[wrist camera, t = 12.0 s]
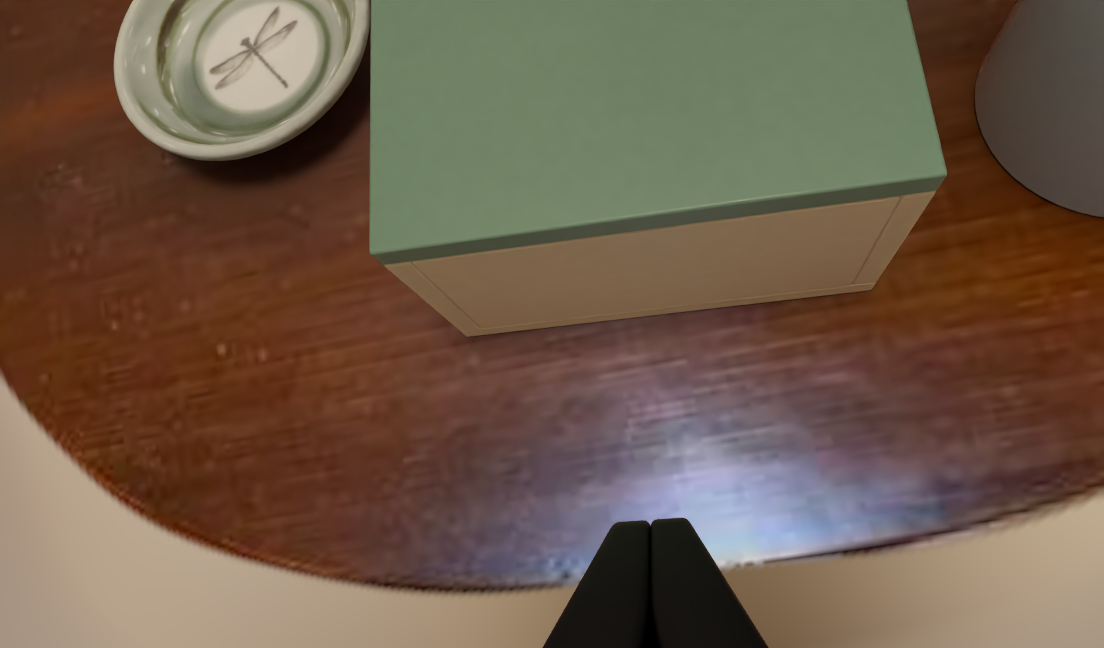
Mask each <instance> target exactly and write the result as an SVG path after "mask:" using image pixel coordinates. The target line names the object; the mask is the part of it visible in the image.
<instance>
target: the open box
mask: <svg viewBox="0 0 1104 648" xmlns="http://www.w3.org/2000/svg"><path fill="white" fill-rule="evenodd" d="M934 194H935V191H930V192H922V193H915V194H907V195H900V196H892V197H885V198H878V199H870V200H863V201H855V202H848V203H840V204H833V205H825V206H818V207H811V208H803V209H796V210H788V211H781V212H773V213H766V214H758V215H751V216H744V217H736V218H729V219H721V220H714V221H706V222H699V223H691V224H684V225H677V226H669V227H662V228H654V229H647V230H639V231H632V232H624V233H617V234H609V235H602V236H595V237H587V238H580V239H572V240H565V241H557V242H550V243H542V244H535V245H528V246H520V247H513V248H505V249H498V250H490V251H483V252H475V253H468V254H461V255H453V256H446V257H438V258H431V259H423V260H416V261H408V262H401V263H394V264H386V265H384V266H385V267H386V268H387V269H388V270H389V271H390V272H391V273H393V274H394V275H395V276H396V277H397V278H399V279H400V280H401V281H402V282H403V283H404V284H406V285H407V286H408V287H409V288H410V289H411V290H413V291H414V292H415V293H416V294H417V295H418V296H420V297H421V298H422V299H423V300H424V301H426V302H427V303H428V304H429V305H430V306H431V307H433V308H434V309H435V310H436V311H437V312H438V313H440V314H441V315H442V316H443V317H444V318H446V319H447V320H448V321H449V322H450V323H451V324H453V325H454V326H455V327H456V328H457V329H458V330H460V332H462V333H463V334H464V335H465V336H466V337H470V336H479V335H487V334H496V333H504V332H513V331H522V330H530V329H539V328H548V327H556V326H565V325H574V324H582V323H591V322H600V321H608V320H617V319H625V318H634V317H643V316H651V315H660V314H669V313H677V312H686V311H695V310H703V309H712V308H721V307H729V306H738V305H746V304H755V303H764V302H772V301H781V300H790V299H798V298H807V297H816V296H824V295H833V294H842V293H850V292H859V291H867V290H872V289H873V287H874V286H875V284H876V282H877V280H878V279H879V277H880V276H881V274H882V273H883V271H884V270H885V268H886V267H887V265H888V264H889V262H890V261H891V259H892V258H893V256H894V255H895V253H896V252H897V250H898V249H899V247H900V246H901V244H902V243H903V241H904V240H905V238H906V237H907V235H908V233H909V232H910V230H911V229H912V227H913V226H914V224H915V223H916V221H917V220H918V218H919V217H920V215H921V214H922V212H923V211H924V209H925V208H926V206H927V205H928V203H929V202H930V200H931V199H932V197H933V196H934Z"/></svg>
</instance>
